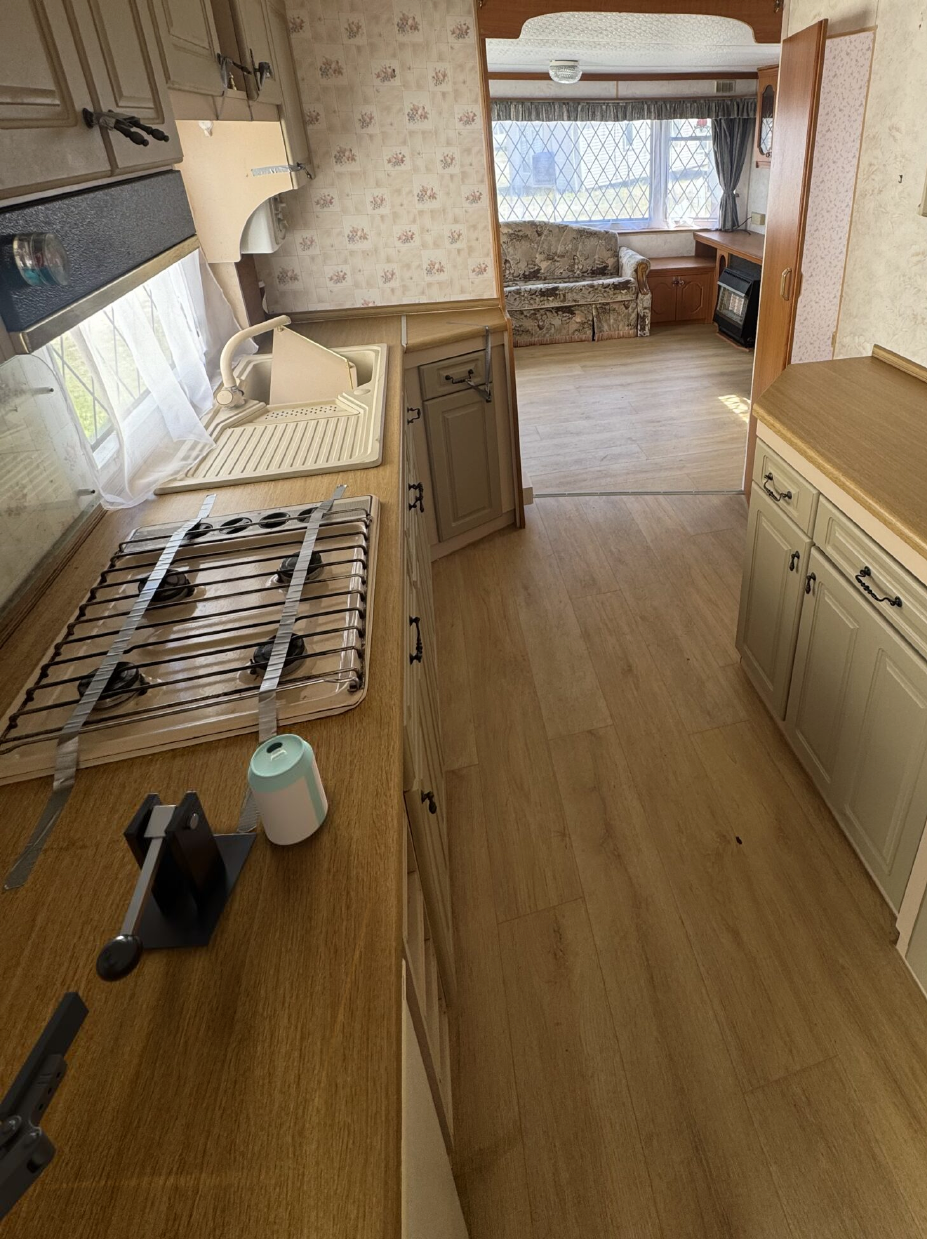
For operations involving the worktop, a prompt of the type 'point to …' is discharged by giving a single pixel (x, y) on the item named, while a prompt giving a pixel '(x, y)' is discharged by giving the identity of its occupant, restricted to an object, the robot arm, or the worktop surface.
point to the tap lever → (136, 906)
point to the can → (287, 789)
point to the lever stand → (186, 874)
